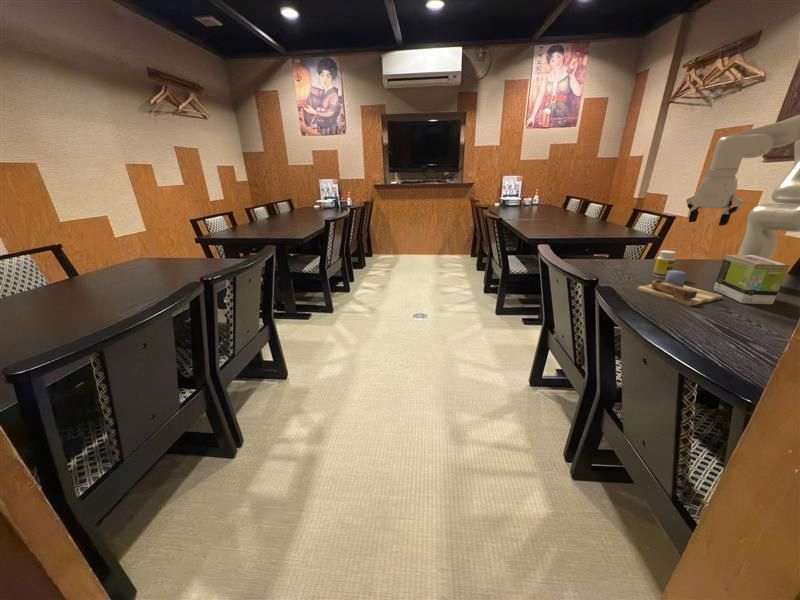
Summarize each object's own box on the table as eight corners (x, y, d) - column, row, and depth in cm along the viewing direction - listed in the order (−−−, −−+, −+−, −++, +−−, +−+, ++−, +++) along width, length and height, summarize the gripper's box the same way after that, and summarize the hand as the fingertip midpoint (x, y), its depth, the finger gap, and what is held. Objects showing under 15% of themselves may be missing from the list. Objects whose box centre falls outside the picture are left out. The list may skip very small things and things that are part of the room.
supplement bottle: (665, 278, 142) (673, 254, 138) (649, 275, 147) (656, 251, 143) (672, 276, 145) (680, 251, 141) (656, 273, 150) (663, 249, 146)
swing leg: (695, 297, 116) (698, 289, 115) (688, 299, 116) (690, 291, 114) (655, 285, 130) (657, 278, 129) (648, 286, 129) (650, 279, 128)
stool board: (667, 283, 136) (670, 273, 134) (721, 298, 119) (725, 286, 118) (637, 289, 131) (640, 278, 130) (688, 306, 114) (692, 293, 113)
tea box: (774, 305, 113) (791, 264, 107) (740, 303, 115) (755, 264, 109) (741, 290, 126) (755, 253, 121) (711, 289, 128) (724, 253, 123)
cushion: (670, 283, 133) (674, 269, 131) (686, 287, 127) (691, 272, 125) (660, 285, 131) (664, 270, 129) (675, 290, 126) (680, 274, 124)
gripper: (687, 175, 120) (674, 221, 126) (746, 174, 105) (728, 227, 111) (701, 174, 122) (687, 220, 128) (760, 173, 107) (742, 225, 113)
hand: (706, 223), depth 120 cm, fingers open, 9 cm apart
